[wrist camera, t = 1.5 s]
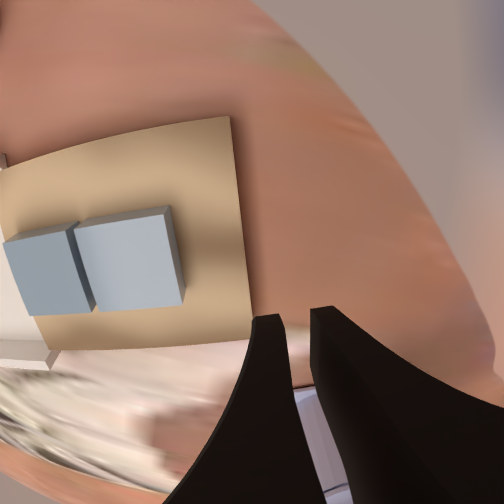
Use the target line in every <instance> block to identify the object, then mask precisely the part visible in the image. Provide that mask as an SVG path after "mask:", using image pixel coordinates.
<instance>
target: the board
mask: <svg viewBox="0 0 504 504" xmlns="http://www.w3.org/2000/svg"><path fill="white" fill-rule="evenodd" d="M166 205H170V209H171V215H172V221H173V226H174V231H175V237H176V242H177V247H178V252H179V257H180V262H181V267H182V272H183V276H184V281H185V286H186V292H185V297H184V302H183V305H179V306H168V307H158V308H146V309H135V310H122V311H109V312H99V309H98V306H97V305H96V306H95V308H94V310H93V311H92V313H80V314H63V315H44V316H33V317H34V320H35V322H36V324H37V326H38V328H39V330H40V333H41V335H42V337H43V339H44V341H45V343H46V345H47V347H48V349H49V350H113V349H138V348H156V347H171V346H185V345H197V344H208V343H218V342H227V341H237V340H245V339H250V335H251V328H252V320H253V317H252V309H251V301H250V292H249V284H248V275H247V267H246V258H245V250H244V241H243V233H242V224H241V215H240V207H239V198H238V189H237V180H236V172H235V163H234V154H233V145H232V136H231V127H230V118H229V116H223V117H215V118H208V119H201V120H194V121H187V122H181V123H175V124H169V125H164V126H158V127H153V128H148V129H143V130H138V131H133V132H129V133H124V134H120V135H115V136H111V137H107V138H103V139H99V140H95V141H91V142H87V143H84V144H80V145H76V146H73V147H69V148H66V149H62V150H59V151H56V152H53V153H49V154H46V155H43V156H40V157H37V158H34V159H31V160H28V161H25V162H22V163H20V164H17V165H14V166H11V167H9V168H6V169H3V170H1V171H0V226H1V229H2V233H3V236H4V240H5V241H7V240H8V239H9V238H11V237H12V236H14V235H15V234H17V233H20V232H25V231H29V230H34V229H39V228H43V227H48V226H53V225H58V224H63V223H68V222H73V221H79V224H81V223H82V222H83V221H84V220H86V219H89V218H94V217H100V216H105V215H111V214H117V213H122V212H128V211H134V210H141V209H147V208H153V207H160V206H166Z"/></svg>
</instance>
